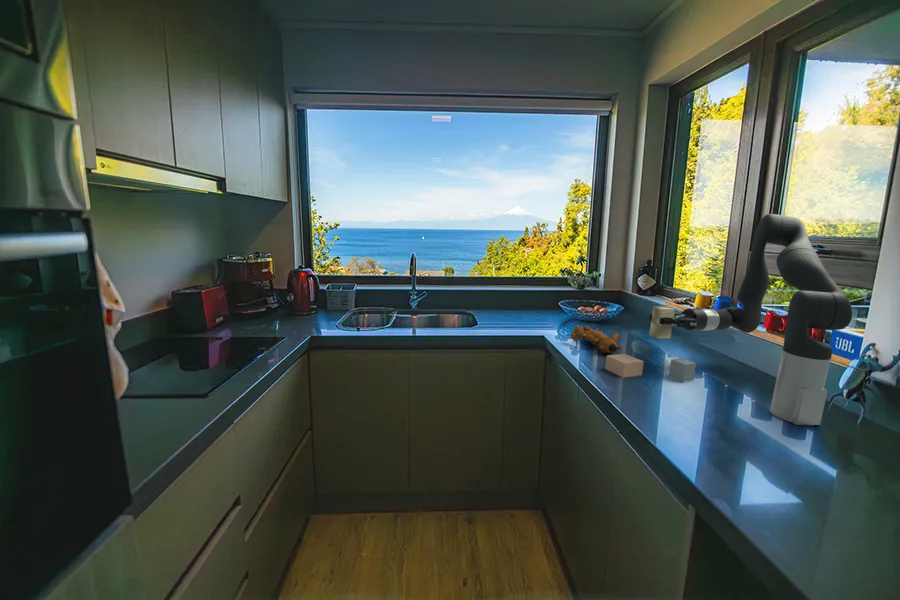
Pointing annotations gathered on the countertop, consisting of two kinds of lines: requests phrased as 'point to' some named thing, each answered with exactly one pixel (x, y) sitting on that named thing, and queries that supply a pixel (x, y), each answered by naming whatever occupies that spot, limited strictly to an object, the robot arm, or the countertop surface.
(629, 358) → the terracotta block
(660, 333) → the beech pillar
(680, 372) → the grey block
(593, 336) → the toy
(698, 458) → the countertop surface
